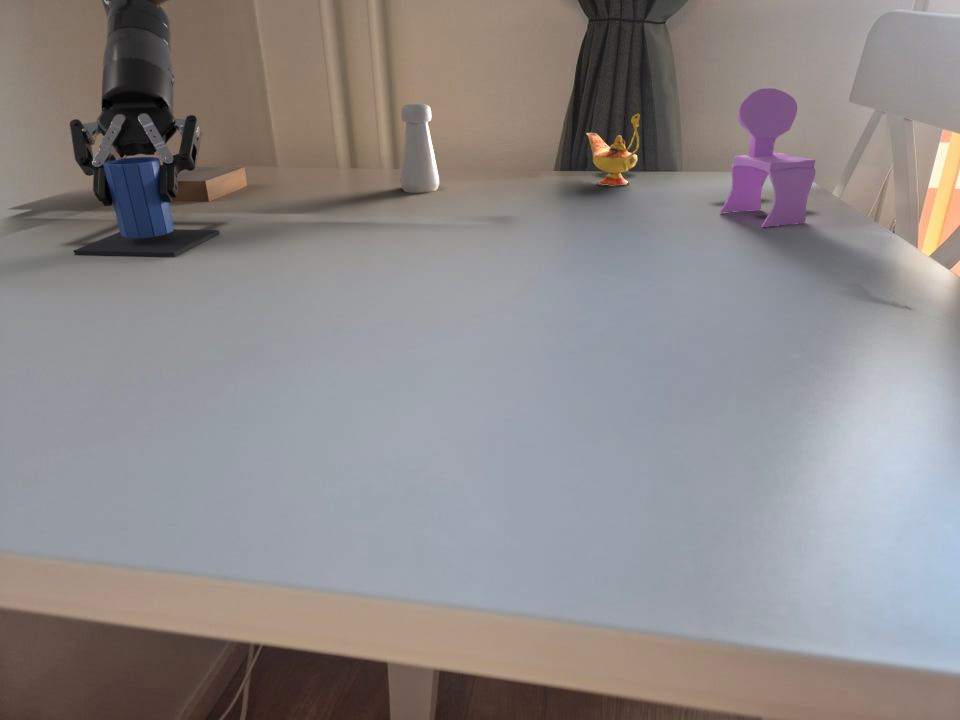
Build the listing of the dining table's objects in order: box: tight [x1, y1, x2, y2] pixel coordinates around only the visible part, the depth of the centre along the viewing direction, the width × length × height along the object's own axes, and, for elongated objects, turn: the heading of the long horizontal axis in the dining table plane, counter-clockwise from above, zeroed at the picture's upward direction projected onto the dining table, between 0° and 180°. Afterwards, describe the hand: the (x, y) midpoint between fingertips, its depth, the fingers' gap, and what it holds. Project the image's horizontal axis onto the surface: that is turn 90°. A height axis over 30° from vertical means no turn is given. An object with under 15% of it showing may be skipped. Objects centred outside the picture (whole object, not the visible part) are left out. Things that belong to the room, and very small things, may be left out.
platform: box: [172, 166, 248, 203], centre depth 101 cm, size 12×12×4 cm
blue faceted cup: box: [103, 156, 175, 238], centre depth 76 cm, size 6×6×8 cm
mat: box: [73, 228, 220, 258], centre depth 79 cm, size 12×10×1 cm
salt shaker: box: [399, 103, 440, 194], centre depth 98 cm, size 6×6×13 cm
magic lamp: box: [585, 112, 641, 185], centre depth 107 cm, size 7×18×11 cm, turn 15°
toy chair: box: [719, 87, 816, 228], centre depth 81 cm, size 8×9×15 cm
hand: (136, 199), depth 75 cm, fingers closed on blue faceted cup, 5 cm apart
